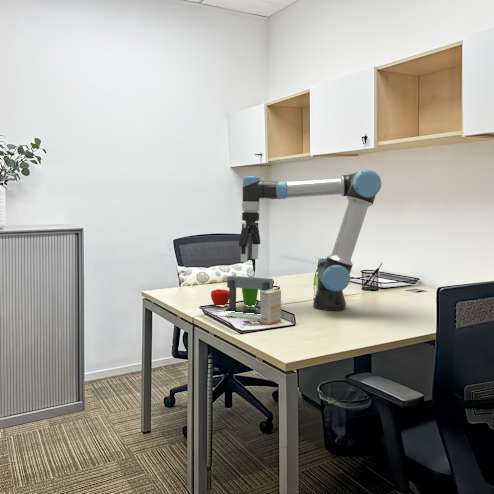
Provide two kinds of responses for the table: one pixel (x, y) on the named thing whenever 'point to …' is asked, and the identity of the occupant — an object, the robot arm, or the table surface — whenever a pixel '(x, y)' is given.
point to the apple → (220, 296)
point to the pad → (245, 315)
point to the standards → (233, 300)
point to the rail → (249, 282)
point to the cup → (249, 296)
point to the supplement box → (270, 306)
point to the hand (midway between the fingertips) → (249, 260)
